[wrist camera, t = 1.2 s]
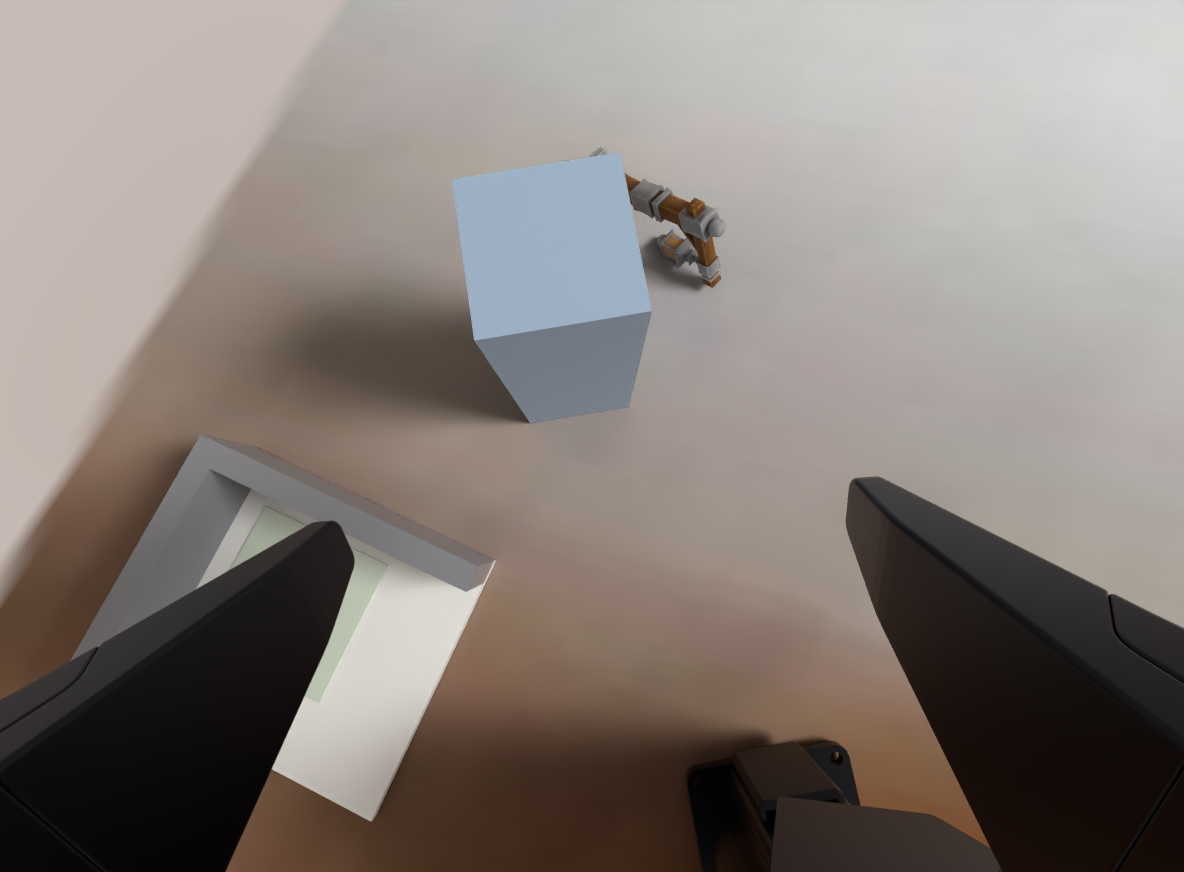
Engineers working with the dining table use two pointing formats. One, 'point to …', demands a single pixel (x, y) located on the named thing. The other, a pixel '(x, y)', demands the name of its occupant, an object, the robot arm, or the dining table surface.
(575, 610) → the dining table surface
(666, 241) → the wooden post with brackets
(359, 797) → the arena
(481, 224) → the slate block
